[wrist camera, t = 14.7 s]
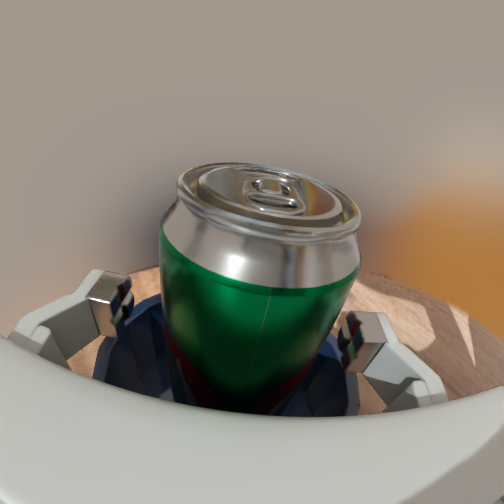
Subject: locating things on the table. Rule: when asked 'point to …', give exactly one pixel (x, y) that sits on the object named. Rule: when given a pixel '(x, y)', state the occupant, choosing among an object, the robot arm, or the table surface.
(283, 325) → the soda can
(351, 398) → the bowl
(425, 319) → the table surface
